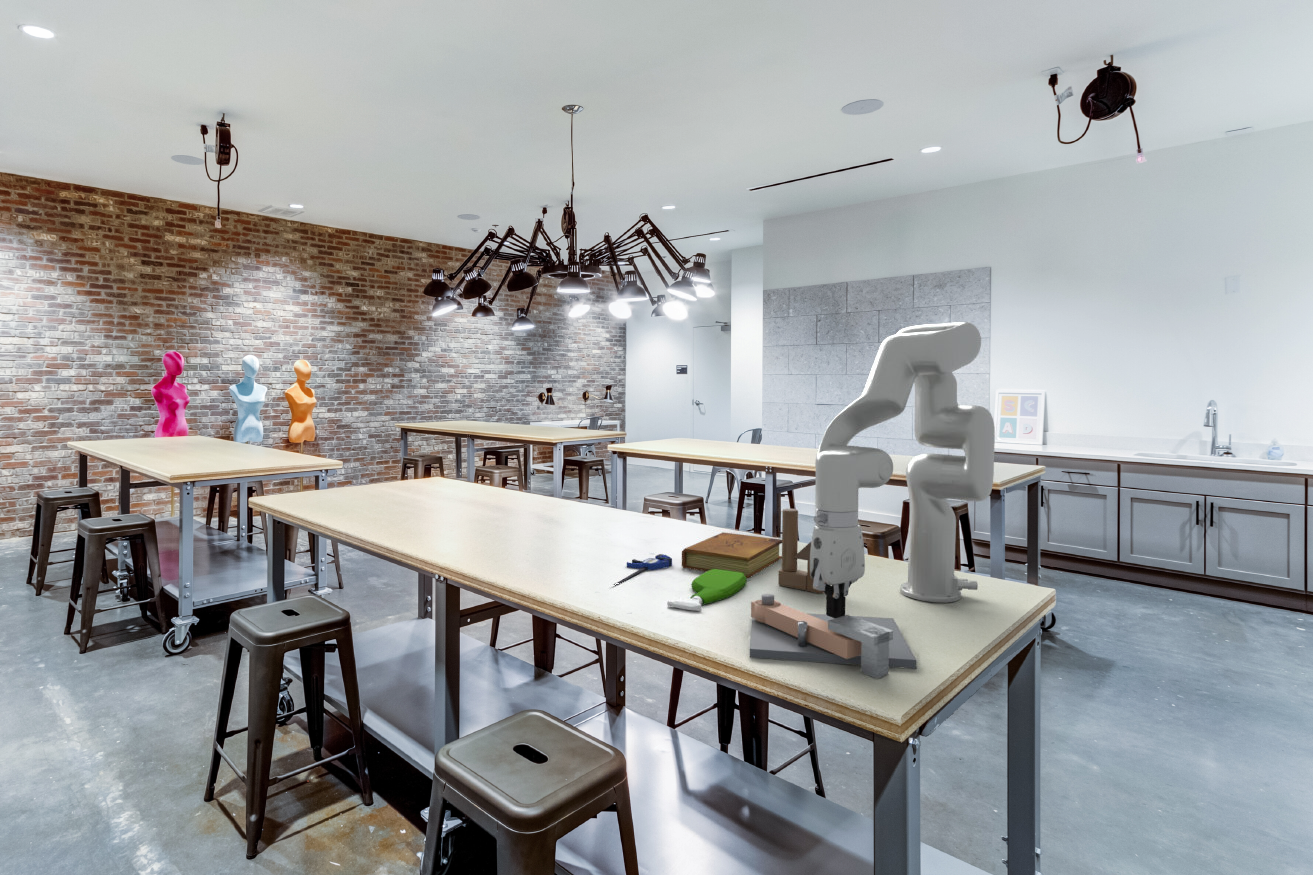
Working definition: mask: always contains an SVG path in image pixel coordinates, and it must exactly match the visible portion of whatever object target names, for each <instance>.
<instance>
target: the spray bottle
mask: <svg viewBox="0 0 1313 875" xmlns="http://www.w3.org/2000/svg"><path fill="white" fill-rule="evenodd" d="M747 579H748V578H746V577H745V575H744V574H743V573H740V572H733V571H726V570H719V569H712V570H709V571H707V572H706V571H704V572H703V573H702V574H700V575H698V576H697V577H696V578H694V579H693V580H692V581H691V584H690V585H691V589H692V591H694V592H695V594H692V595H691V596H690V598H685V599H683V597H682V596H679V599H676V600H674V601H673V600H668V601H667V602H666V603H667V604H666V605H667V606H668V607H672V608H674V609H675V608H676V609H681V610H687V611H688V610H689V611H694V612H695V611H696V612H697V611H698V612H702V606H703V605H708V604H711V603H716V602H718V601H721V600H724V599H727V598H730V597H731V596H734V595H735V594H737V593H738V592H740V590H742V589H743V588H744V587H745V585H746V584H747Z"/></svg>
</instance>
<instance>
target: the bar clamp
mask: <svg viewBox="0 0 1313 875" xmlns="http://www.w3.org/2000/svg"><path fill="white" fill-rule="evenodd" d="M672 566H673V558H672V557H670V556H669V555H667V554H662V553H660V554H657V555H655V557H654V558H652V557H648V558H646V559H643V560H638V559H635V558H633V559H631V562H629V561H627V562H626V567H627V568H630V569H638V570H636V571H635V572H633V573H631V574H629V575H628V576H626V577H624V578H623V579H621V580H619V581H617V582H615V583H613V585H615V584H616V583H619V584H616V585H617V586H619V585H621V584H623V583H625V582H626V580H627V581H628V580H630V579H631V578H633V577H635V576H636V575H639V574H640V573H642V572H644V571H655V569H656V570H660V569H667V568H670V567H672ZM624 581H625V582H624ZM622 582H623V583H622ZM620 583H621V584H620ZM616 585H615V587H617V586H616Z"/></svg>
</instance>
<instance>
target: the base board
mask: <svg viewBox="0 0 1313 875" xmlns="http://www.w3.org/2000/svg"><path fill="white" fill-rule="evenodd" d="M805 613H806V614H808V615H811V616H814V617H816V618H819V619H821V620H824V621H826V622H828V621H829V620H832V619H835V618H832V617H830V616H827V615H826V613H824V614H823V613H808V612H805ZM851 616H852V617H855V618H858V619H861V620H864V621H867V622H870V623H873V624H876V625H879V626H882V627H885V628H887V629H890V630H893V640H890V641H889V668H899V669H910V670H911V669H912V670H913V669H915V670H917V662H918V661H917V660H918V659H917V658H916V656H915V654H914V653H913V651H912V649H911V647H910V645H909V644H908V642H907V641H906V638H905V637H904V635H903V633H902V631H901V629H900V628H899V627H898V624H897V621H895V619H894V618H893V617H879V616H878V617H877V616H861V615H860V616H859V615H851ZM749 640H750V642H749V658H753V659H755V658H756V659H765V660H767V659H769V660H781V661H782V660H785V661H795V662H808V663H809V662H810V663H811V662H812V663H828V664H840V665H855V666H861V655H859V656H855V657H852V658H849V659H845V658H843V657H841V656H839V655H836V654H834V653H832V652H829V651H827V650H825V649H823V648H820V647H818V646H816V645H814V644H811V643H809V642H807V647H800V646H798V637H795V636H793V635H791V634H789V633H786V632H784V631H782V630H779V629H777V628H775V627H773V626H770V625H768V624H766V623H761V622H758V621H756V620H755V619H754V618H752V617H751V627H750V639H749Z"/></svg>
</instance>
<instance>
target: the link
mask: <svg viewBox="0 0 1313 875" xmlns="http://www.w3.org/2000/svg"><path fill="white" fill-rule="evenodd" d="M806 613H807V612H804V611H801V610H798V609H796V608H792V607H790V606H787V605H785V604H782V603H781V602H780V601H778V600H775V595H774V594H771V593H762V594H761V599H757V600H753V601H750V617H751V619H752V618H754V619H755V620H756V621H758V622H761V623H766V624H768V625H770V626H773V627H775V628H777V629H779V630H782V631H784V632H786V633H789V634H791V635H793V636H795V637H798V622H799V621H805V622H807V642H809V643H811V644H814V645H816V646H818V647H820V648H823V649H825V650H827V651H829V652H832V653H834V654H836V655H839V656H841V657H843V658H845V659H849V658H852V657H855V656H859V655H861V645H862V642H860V641H857V640H855V639H852V638H849V637H847V636H844V635H841V634H839V633H836V632H833V631H831V630H828V622H826V621H824V620H821V619H819V618H816V617H814V616H811V615H808V614H806Z"/></svg>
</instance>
